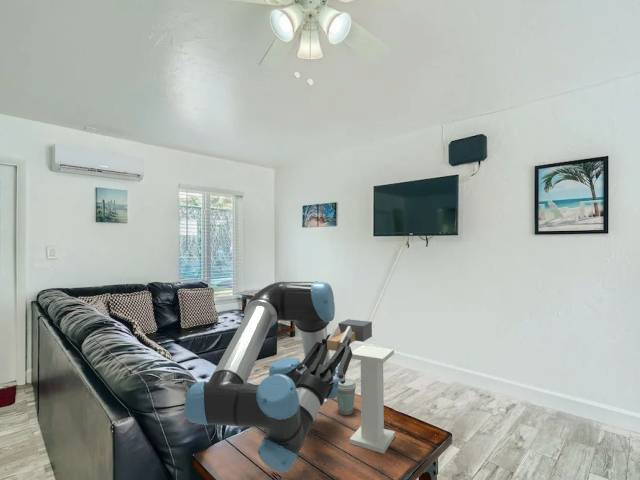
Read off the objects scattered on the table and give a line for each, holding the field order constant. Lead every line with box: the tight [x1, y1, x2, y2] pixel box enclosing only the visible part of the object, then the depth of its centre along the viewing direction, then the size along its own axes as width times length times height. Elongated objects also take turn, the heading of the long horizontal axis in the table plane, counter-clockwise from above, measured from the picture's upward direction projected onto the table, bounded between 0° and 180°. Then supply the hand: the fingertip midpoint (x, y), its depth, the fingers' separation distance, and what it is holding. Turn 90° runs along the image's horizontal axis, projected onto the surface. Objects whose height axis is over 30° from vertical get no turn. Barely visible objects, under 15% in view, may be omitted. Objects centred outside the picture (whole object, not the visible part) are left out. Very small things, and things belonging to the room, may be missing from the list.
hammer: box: [327, 318, 373, 352], centre depth 98 cm, size 19×8×4 cm, turn 151°
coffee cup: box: [336, 378, 357, 416], centre depth 138 cm, size 8×8×12 cm
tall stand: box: [349, 344, 396, 455], centre depth 117 cm, size 12×12×30 cm
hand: (344, 329), depth 96 cm, fingers closed on hammer, 3 cm apart
